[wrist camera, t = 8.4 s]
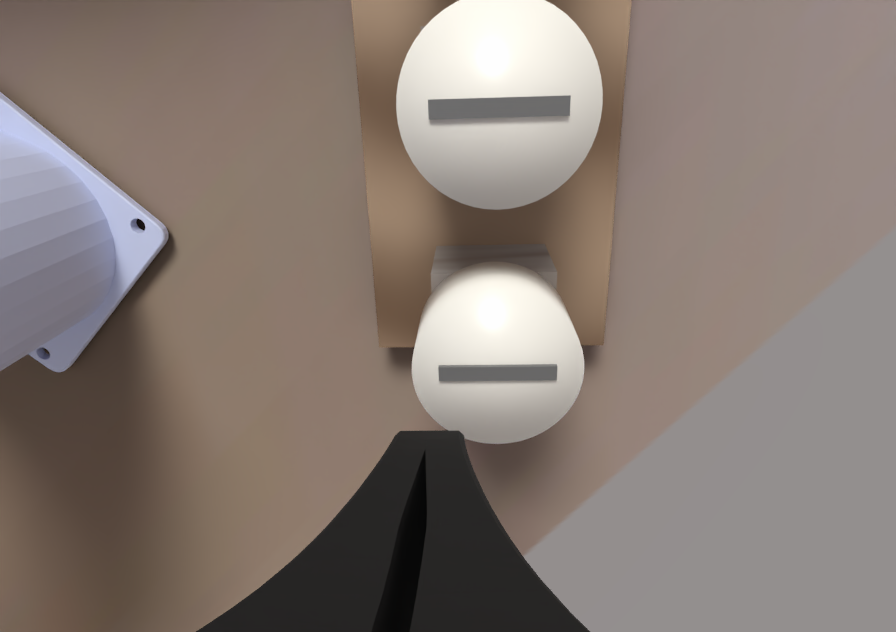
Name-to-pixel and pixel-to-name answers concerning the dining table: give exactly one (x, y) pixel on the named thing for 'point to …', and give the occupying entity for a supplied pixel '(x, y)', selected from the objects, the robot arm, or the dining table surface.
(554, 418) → the knob outer
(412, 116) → the knob middle
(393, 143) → the knob panel
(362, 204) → the dining table surface
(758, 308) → the dining table surface
